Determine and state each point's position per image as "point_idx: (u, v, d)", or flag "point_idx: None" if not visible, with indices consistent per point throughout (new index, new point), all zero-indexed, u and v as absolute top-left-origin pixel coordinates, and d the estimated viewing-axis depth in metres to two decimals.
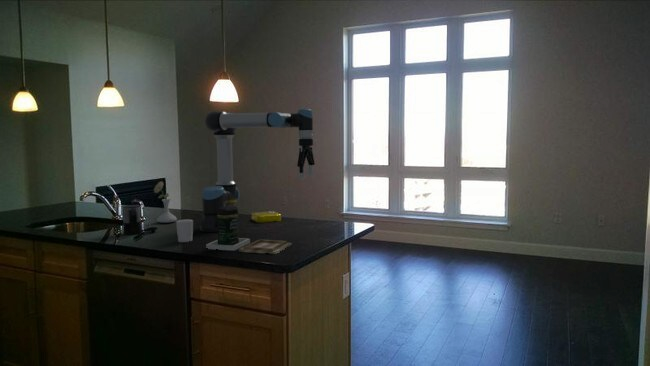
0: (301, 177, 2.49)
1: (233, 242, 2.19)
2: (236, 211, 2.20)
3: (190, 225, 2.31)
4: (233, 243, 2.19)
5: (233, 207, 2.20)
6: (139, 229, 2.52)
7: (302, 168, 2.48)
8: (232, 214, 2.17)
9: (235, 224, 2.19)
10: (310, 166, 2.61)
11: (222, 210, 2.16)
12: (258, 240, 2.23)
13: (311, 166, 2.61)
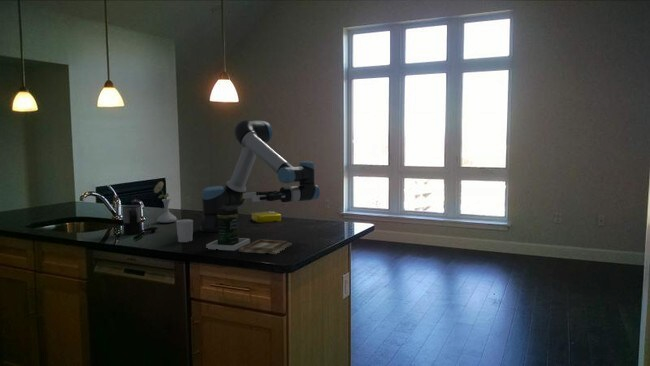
0: (254, 198, 2.18)
1: (233, 242, 2.19)
2: (236, 211, 2.20)
3: (190, 225, 2.31)
4: (233, 243, 2.19)
5: (233, 207, 2.20)
6: (139, 229, 2.52)
7: (264, 199, 2.20)
8: (232, 214, 2.17)
9: (235, 224, 2.19)
10: (254, 195, 2.32)
11: (222, 210, 2.16)
12: (258, 240, 2.23)
13: None
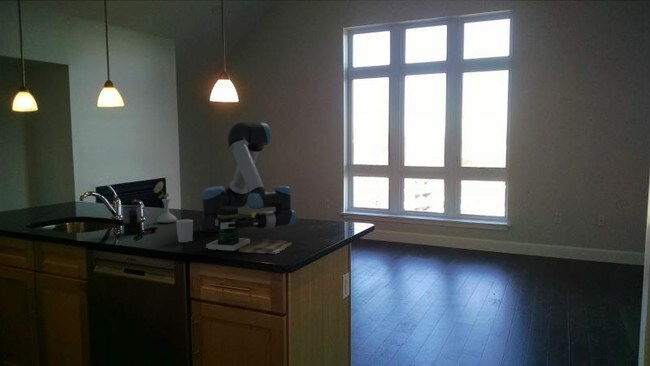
0: (222, 225, 2.14)
1: (233, 242, 2.19)
2: (236, 211, 2.20)
3: (190, 225, 2.31)
4: (233, 243, 2.19)
5: (233, 207, 2.20)
6: (139, 229, 2.52)
7: (233, 226, 2.16)
8: (233, 214, 2.17)
9: None
10: None
11: (222, 210, 2.16)
12: (258, 240, 2.23)
13: None
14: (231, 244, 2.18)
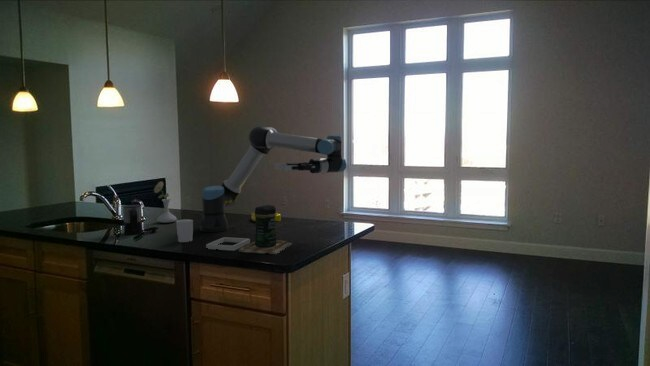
0: (287, 167, 2.32)
1: (271, 242, 2.13)
2: (274, 210, 2.14)
3: (190, 225, 2.31)
4: (271, 243, 2.13)
5: (271, 207, 2.14)
6: (140, 229, 2.52)
7: (296, 169, 2.34)
8: (271, 214, 2.12)
9: (273, 224, 2.13)
10: None
11: (260, 209, 2.10)
12: None
13: None
14: (269, 244, 2.12)
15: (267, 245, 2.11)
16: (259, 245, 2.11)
